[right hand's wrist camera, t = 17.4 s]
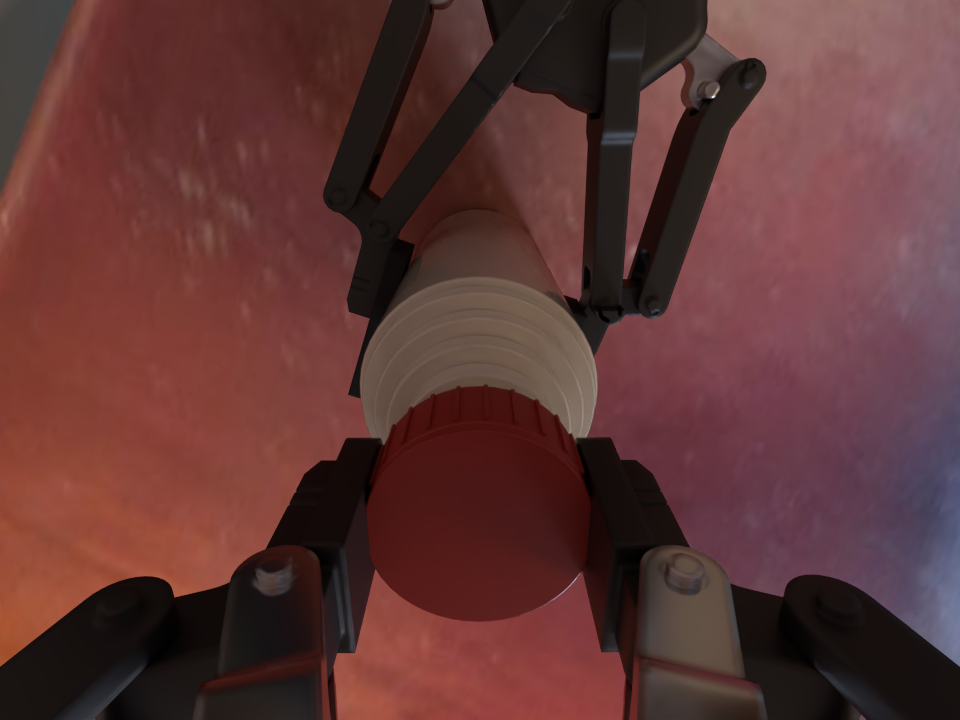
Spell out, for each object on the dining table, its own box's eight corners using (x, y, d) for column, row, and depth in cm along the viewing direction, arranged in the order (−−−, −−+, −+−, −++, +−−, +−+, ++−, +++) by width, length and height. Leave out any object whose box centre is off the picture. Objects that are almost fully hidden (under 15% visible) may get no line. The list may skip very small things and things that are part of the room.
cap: (523, 344, 11) (531, 385, 9) (614, 507, 13) (637, 570, 11) (337, 439, 12) (311, 494, 10) (443, 583, 14) (437, 654, 12)
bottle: (523, 191, 29) (616, 305, 9) (556, 315, 31) (684, 609, 12) (396, 231, 30) (238, 414, 10) (437, 349, 32) (376, 680, 13)
